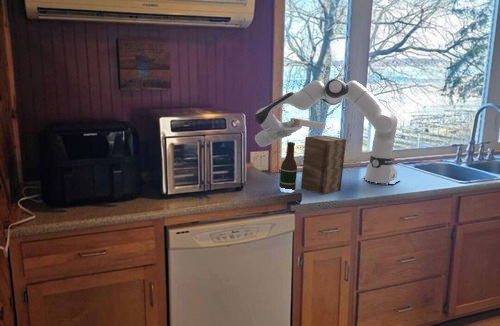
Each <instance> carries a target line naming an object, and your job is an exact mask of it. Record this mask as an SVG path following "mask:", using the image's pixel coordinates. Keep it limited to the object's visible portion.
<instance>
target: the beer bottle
mask: <svg viewBox="0 0 500 326" xmlns="http://www.w3.org/2000/svg"><path fill="white" fill-rule="evenodd" d="M286 144H287V147H286V155H285V158H284V159H283V161H282V162H281V165H280V172H279V182H278V183H279V184H278V185H279V186H280V187H281V188H285V189H292V190H295V191H296V184H297V183H296V182H297V174H298V172H297V171H298V166H297V165H298V164H297V162H296V160H295V145H296V143H295V142H293V141H288V142H287V143H286ZM279 186H278V187H279Z"/></svg>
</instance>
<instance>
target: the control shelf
mask: <svg viewBox="0 0 500 326" xmlns="http://www.w3.org/2000/svg"><path fill="white" fill-rule="evenodd" d="M346 143H347V139H345V138H340V137H336V136H329V135H326V134H325V135H316V136H315V135H313V136H305V139H304V148H303V149H304V151H303V161H302V172H301V183H300V184H301V185H300V190H305V191H308V192H312V193H315V194H320V195H326V194H330V193H333V192H337V191H338V192H339V191H342V189H341V188H342V180H343V171H344V161H345V152H346Z"/></svg>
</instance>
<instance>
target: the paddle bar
mask: <svg viewBox="0 0 500 326" xmlns="http://www.w3.org/2000/svg"><path fill="white" fill-rule="evenodd" d="M291 120H295V122H296V123H294V124H293V125H299V126H302V127H305V128H310V129H311V128H312V129H319V130H325V128H326V122H320V121H313V120H309V119H301V118H295V117H293V118H290V120H289V121H291Z"/></svg>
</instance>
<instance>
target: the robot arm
mask: <svg viewBox="0 0 500 326" xmlns="http://www.w3.org/2000/svg"><path fill="white" fill-rule="evenodd" d="M343 99H345V100H347V101H349V102H350V103H351V104H352V105H353V106H354V108H356V109H357V110H358V111H359V113H360V114H362V115H363V116H364V118H365V119H366V121H368V123H369V124H370V125H371V126H372V127H373V128H374V129H375V131H374V135H373V140H372V146H371V153H370V156H369V163H368V164H367V165H366V170H365V175H363V177H362V178H363V179H364V178H365V179H364V180H365V181H366V180H367V181H366V182H368V181H370V182H369V183H371V182H377V183H390V181H392V180H394V179H395V178H398V177H397V176H398V171H397V169H396V168H395V166H394V165H393V163H394V162H395V161H396V159H395V157H393V151H394V143H395V138H396V132H397V127H398V118H397V115H396V114H395V113H393V112H391V111H388V110H387V109H386V108H385V106H384V105H383V104H382V103H381V102H380V101H379V100H378V98H376V96H375V95H374V94H372V93H371V92H370V91H369V90H368V89H367V88H366V87H365V86H364V85H362V84H361V83H359V82H357V80H350V81H348V82H346V81H345V80H341V79H338V78H332V79H330V80H328V82H327V83H326V84H325V83H323V82H322V81H320V80H318V79H315V80H312V81H310V83H308V84H306V85H305V86H303V87H302V88H301V89H300V90H299V91H297V92H292V91H291V92H287V93H286V94H285V93H284V95H282V96H281V97H279V98H277V99H276V100H275V99H274V101H272V102H271V103H268V104H267V105H265V106H264V107H262V108H259V109H258V110H257V111H256V112H255V114H254V121H255V123H257V124H258V125H259V126H261V128H262V130H261V131H259V132H258V133H257V134H256V135H255V136H254V141H255V144H257V146H258V147H261V148H265V147H267V146H269V145H271V144H273V143H275V142H276V141H280V140H281V139H284V138H286V137H290V136H292V134H294V133H296V132H297V131H299V130H300V129H302V127H303V126H299V125H293V124H294V123H296V122H295V120H291V119H290V120H291V121H290V120H288V121H280V120H279V119H278V118H277V116H276V115H275V114H274V113H273V112H274V111H275V110H277V109H278V108H280V107H282V106H284V105H287V104H288V105H290V106H292V107H294V108H296V109H298V110H300V111H306V110H309V109H310V108H311V107H313V106H314V105H315V104H316V103H317V102H318V101H320V100H322V101H323V102H325V103H327V104H329V105H332V106H335V105H338V104H339V103H341V102H342V100H343ZM377 183H376V184H377Z"/></svg>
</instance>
